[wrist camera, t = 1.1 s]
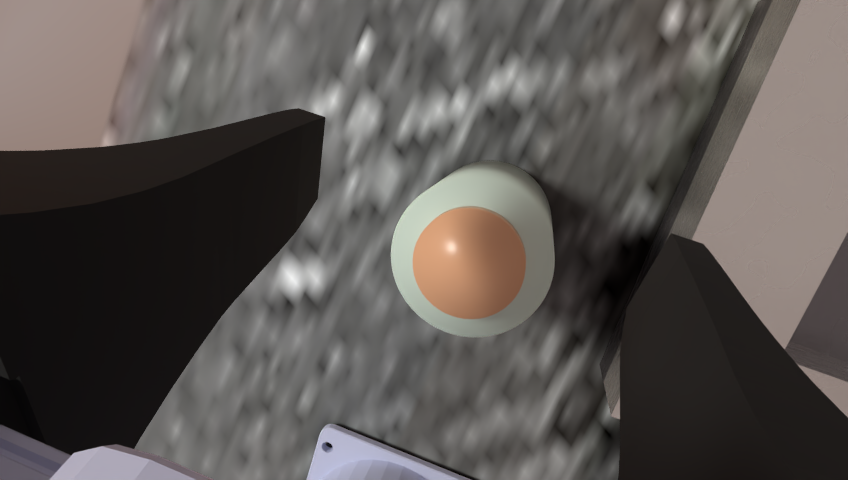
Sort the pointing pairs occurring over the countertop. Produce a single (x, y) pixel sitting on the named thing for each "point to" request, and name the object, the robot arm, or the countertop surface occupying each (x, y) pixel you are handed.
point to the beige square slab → (775, 188)
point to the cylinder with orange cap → (476, 250)
